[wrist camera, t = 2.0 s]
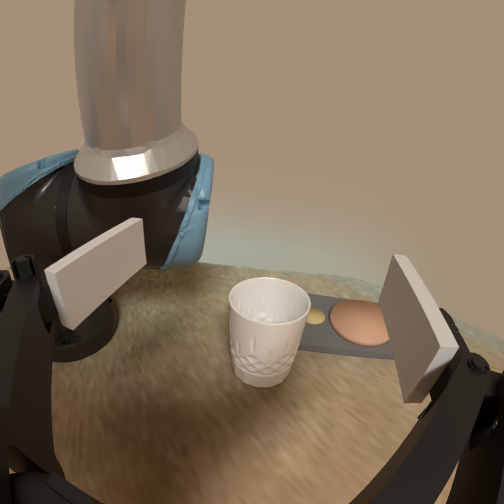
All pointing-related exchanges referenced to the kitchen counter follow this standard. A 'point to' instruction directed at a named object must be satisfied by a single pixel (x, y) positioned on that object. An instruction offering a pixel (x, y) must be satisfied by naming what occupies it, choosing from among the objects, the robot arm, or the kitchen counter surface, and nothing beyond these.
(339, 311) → the board
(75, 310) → the robot arm
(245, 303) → the white cup
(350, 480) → the kitchen counter surface
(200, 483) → the kitchen counter surface
